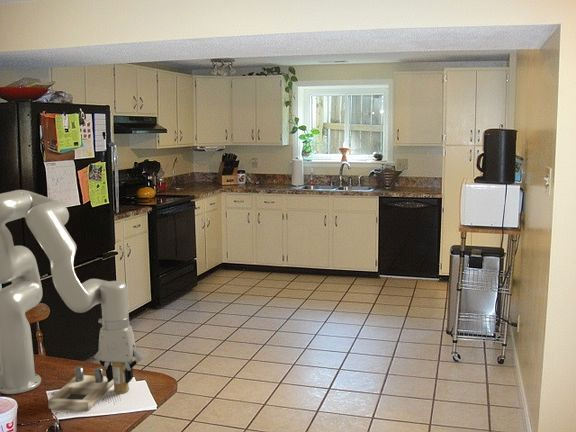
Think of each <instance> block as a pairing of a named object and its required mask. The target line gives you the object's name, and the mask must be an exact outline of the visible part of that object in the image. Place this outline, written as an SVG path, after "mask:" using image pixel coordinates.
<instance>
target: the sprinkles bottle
mask: <svg viewBox="0 0 576 432" xmlns="http://www.w3.org/2000/svg"><path fill="white" fill-rule="evenodd" d="M111 365H112V370H113V382H114V384H113V392H114V393H115V394H118V395H119V394H120V395H121V394H125V393H127V392H128V391H129V390H130V386H129V383H126V376H125V371H126V370H127V368H126V365H125V363H124V362H112V364H111Z"/></svg>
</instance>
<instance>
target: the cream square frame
mask: <svg viewBox="0 0 576 432" xmlns="http://www.w3.org/2000/svg"><path fill="white" fill-rule="evenodd" d="M112 387H114V382H113V379H112V381H111V382H108V380H107V378H106V375H104V367H103V366H98V367H95V368H94V375H86V374H84V367H83V366H81V365H77V366H76V367H74V376H73V377H72V378H71V379H69V381H68V382H67V383H66V384H65V385H63V386H62V387H61V388H60V389H59V390H58V391H57V392H56V393H54V395H52V396H51V397H50V398H49V399H48V400H47V403H48V409H49V410H50V409H52V410H70V411H82V412H83V411H84V412H85V411H86V412H89V411H90V410H91V408H92V409H93V407H94V406H95V405H96V404H97V402H99V400H100V399H102V398H103V396H104V395H105V394H106V393H107V392H108V391H109V390H110V389H111V388H112Z"/></svg>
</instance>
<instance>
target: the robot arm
mask: <svg viewBox="0 0 576 432" xmlns="http://www.w3.org/2000/svg"><path fill="white" fill-rule="evenodd" d="M22 218H24V219H25V223H26V225H27V227H28V228H29V230H30V231H31V234H33V237H34V238H35V240H36V241H37V243H38V244H39V245H40V247H41V249H42V250H43V251H44V253H45V255H46V256H47V258H48V259H49V262H50V273H51V278H52V283H53V285H54V288H55V290H56V292H57V293H58V294H59V296H60V298H61V300H62V301H63V302H64V304H65V305H66V306H67V307H68V308H69V309H70V310H71V311H73V312H74V313H79V314H80V313H81V314H82V313H86V312H88V311H89V310H91V309H92V308H93V307H95V306H96V305H97V306H98V305H99V304H101V305H100V308H101V317H102V318H98V321H97V322H98V323H99V324H101V326H102V327H100V330H99V336H98V337H99V338H98V351H97V352H96V353H95V355H94V357H93V358H94V359H95V360H96V361H97V362H99V364H101V366H102V367H103V370H105V376H106V378H107V380H108V382H111V381H112V379H113V370H112V362H124V363H125V365H126V368H127V370H126V371H125V376H126V383H128V384H129V383H130V382H131V381H132V380H133V379H134V367H135V366H136V365H137V364H138V363H139V362H141V361H142V359H143V355H141V353H140V352H139V351H138V350H137V347H136V341H135V335H134V331H133V327H132V325H130V316H129V302H128V288H127V284H126V283H125V282H124V281H120V280H110V281H109V280H105V279H100V278H89V279H87V280H85V281H84V282H82V283H81V281H80V280H79V278H78V277H77V274H76V271H75V268H74V261H75V257H76V253H77V252H76V251H77V250H78V248H77V244H76V242H75V241H74V239H73V238H72V236H71V235H70V233H69V231H68V230H67V228H66V226H65V225H66V224H67V223H68V221H69V218H70V213H69V211H68V208H67V206H65V204H64V203H62V202H60V201H59V200H57V199H53V198H50V197H48V196H44V195H43V194H39V193H36V192H34V191H30V190H25V189H15V190H11V191H7V192H2V193H0V284H3V285H4V284H7V283H10V282H11V284H9V285H7V286H5V287H3V288H1V289H0V393H1V394H4V395H16V394H22V393H26V392H30V391H31V390H34V389H35V388H37V387H39V386H40V384H41V383H42V378H41V376H40V375H39V374H37V373H36V370H35V361H34V359H35V358H34V351H33V350H34V347H33V339H32V337H33V336H32V331H31V324H30V323H29V321H28V319H27V316H26V312H28V311H30V310H32V309H33V308H34V307H36V306H37V305H39V304H40V303H41V301H42V298H43V287H42V285H43V284H42V282H41V276H40V272H39V267H38V263H37V260H36V257H35V255H34V254H33V252H32V251H31V250H30V249H29V248H28V247H26V246H24V245H14V240H13V235H12V232H11V231H10V230H9V228H8V227H7V226H6V224H7V223H9V222H13V221H15V220H16V221H17V220H18V219H20V220H21V219H22ZM133 358H135V359H134V360H133Z"/></svg>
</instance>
